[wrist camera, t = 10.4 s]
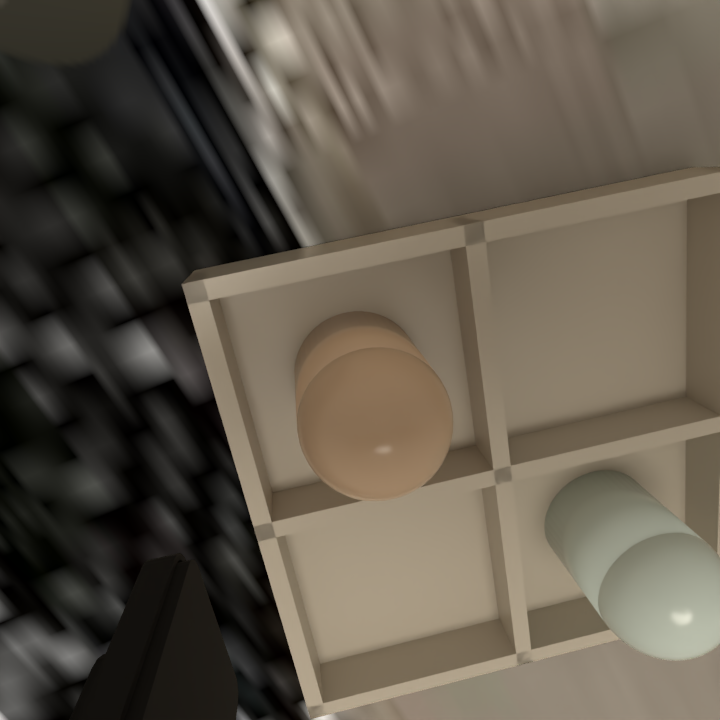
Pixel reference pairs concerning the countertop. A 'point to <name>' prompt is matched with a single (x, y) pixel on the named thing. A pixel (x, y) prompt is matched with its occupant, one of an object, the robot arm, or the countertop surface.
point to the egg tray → (476, 421)
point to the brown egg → (369, 408)
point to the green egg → (637, 565)
